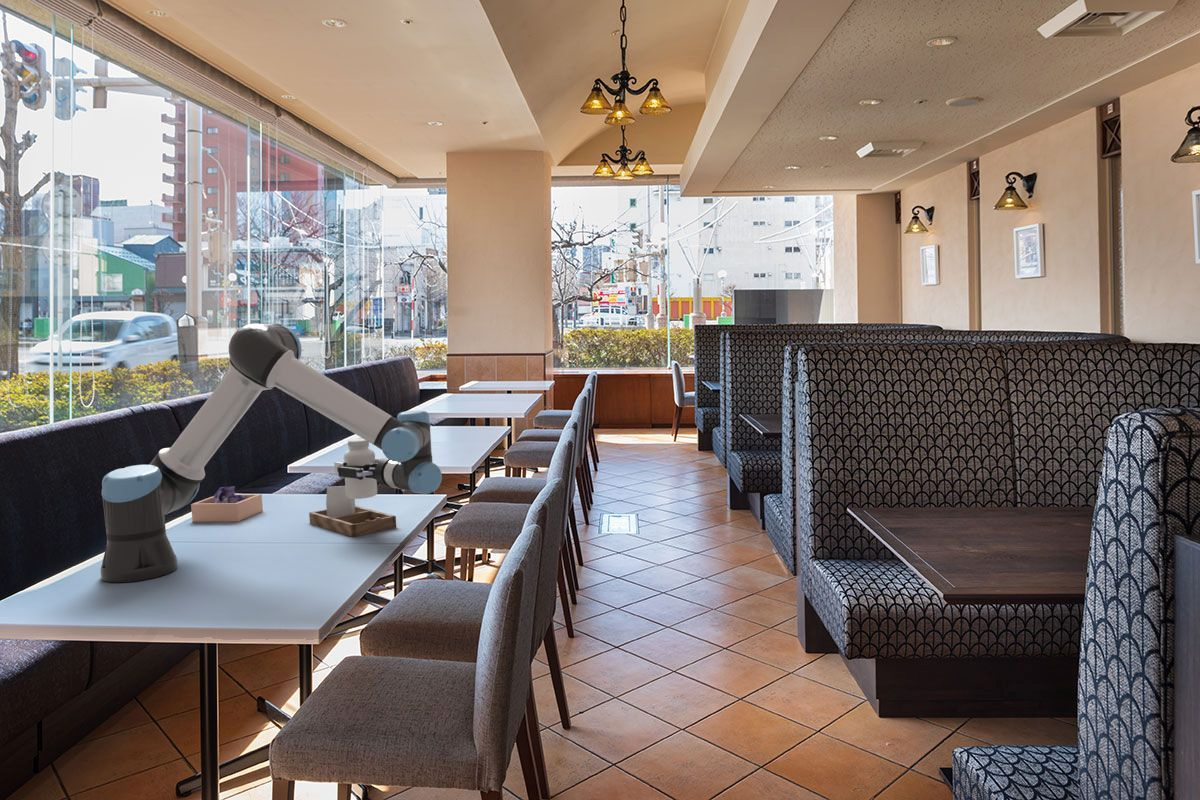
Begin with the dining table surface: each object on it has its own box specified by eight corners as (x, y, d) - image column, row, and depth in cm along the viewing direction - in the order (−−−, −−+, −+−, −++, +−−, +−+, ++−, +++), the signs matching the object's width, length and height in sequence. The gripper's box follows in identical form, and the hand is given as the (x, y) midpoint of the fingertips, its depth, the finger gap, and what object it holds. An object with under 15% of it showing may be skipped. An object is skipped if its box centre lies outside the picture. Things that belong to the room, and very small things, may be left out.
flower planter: (238, 521, 240) (237, 503, 240) (192, 521, 242) (191, 504, 242) (262, 510, 253) (261, 494, 253) (218, 511, 255) (217, 494, 254)
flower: (195, 495, 246) (224, 479, 245) (215, 501, 254) (243, 486, 253) (201, 524, 243) (231, 508, 242) (222, 529, 250) (250, 514, 250)
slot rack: (396, 527, 226) (395, 514, 225) (353, 537, 217) (352, 523, 217) (351, 514, 243) (350, 503, 243) (309, 523, 234) (308, 511, 234)
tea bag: (352, 523, 232) (350, 487, 231) (327, 524, 232) (325, 488, 231) (356, 520, 236) (353, 484, 235) (331, 521, 236) (328, 485, 235)
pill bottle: (379, 497, 223) (375, 439, 221) (347, 500, 220) (343, 443, 218) (375, 491, 230) (371, 436, 229) (344, 495, 227) (340, 439, 226)
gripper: (358, 495, 205) (315, 484, 221) (432, 480, 219) (386, 472, 235) (356, 464, 204) (312, 456, 220) (430, 451, 218) (384, 445, 234)
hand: (350, 464), depth 228 cm, fingers closed on pill bottle, 8 cm apart
